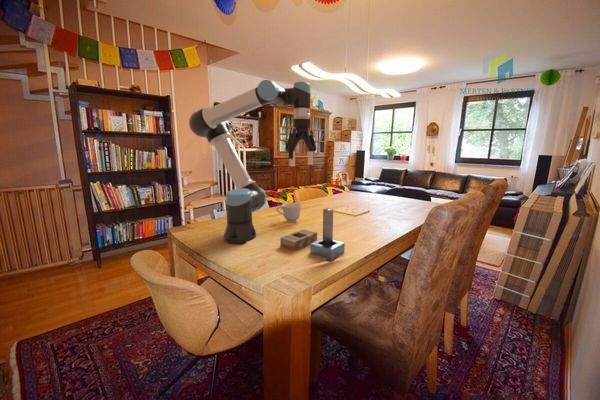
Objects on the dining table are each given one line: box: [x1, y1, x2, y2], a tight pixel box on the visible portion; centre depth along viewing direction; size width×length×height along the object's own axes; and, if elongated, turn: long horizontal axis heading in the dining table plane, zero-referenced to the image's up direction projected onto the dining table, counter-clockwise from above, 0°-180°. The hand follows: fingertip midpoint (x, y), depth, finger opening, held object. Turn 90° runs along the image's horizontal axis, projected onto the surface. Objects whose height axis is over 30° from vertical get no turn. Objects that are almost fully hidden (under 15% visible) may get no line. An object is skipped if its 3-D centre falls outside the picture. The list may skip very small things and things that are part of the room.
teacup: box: [276, 202, 303, 224], centre depth 151 cm, size 12×15×10 cm
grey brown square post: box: [322, 208, 334, 247], centre depth 104 cm, size 4×4×18 cm
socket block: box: [309, 237, 346, 263], centre depth 105 cm, size 10×10×5 cm
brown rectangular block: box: [279, 228, 318, 252], centre depth 114 cm, size 16×8×5 cm, turn 140°
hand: (301, 165), depth 122 cm, fingers open, 13 cm apart
